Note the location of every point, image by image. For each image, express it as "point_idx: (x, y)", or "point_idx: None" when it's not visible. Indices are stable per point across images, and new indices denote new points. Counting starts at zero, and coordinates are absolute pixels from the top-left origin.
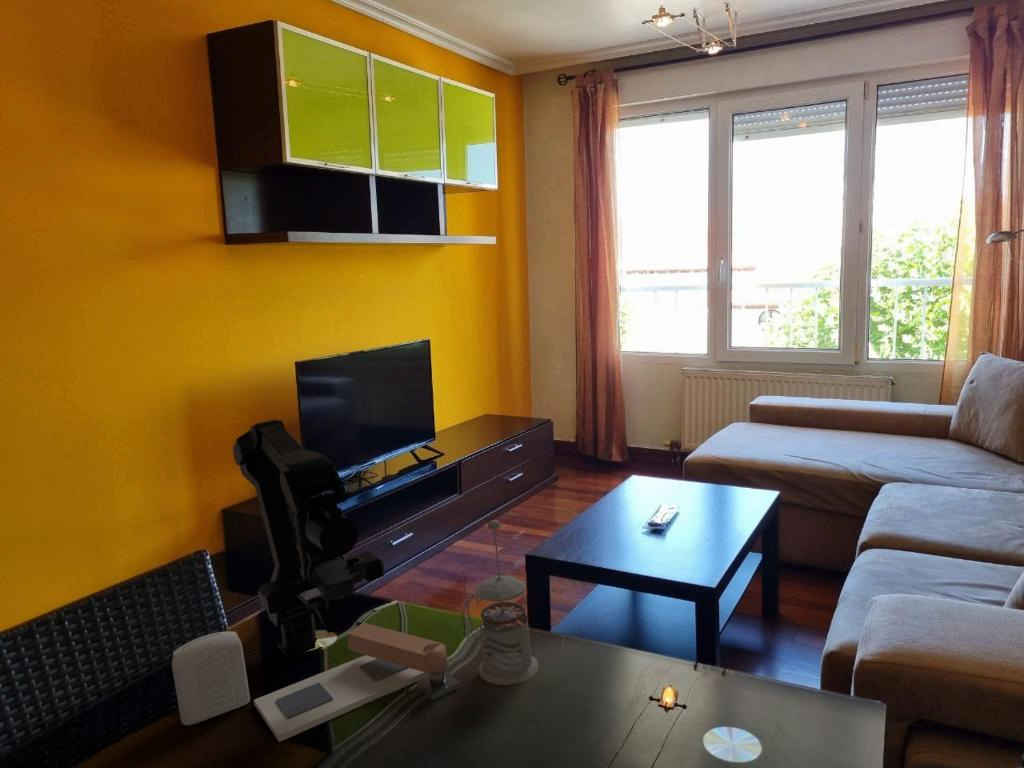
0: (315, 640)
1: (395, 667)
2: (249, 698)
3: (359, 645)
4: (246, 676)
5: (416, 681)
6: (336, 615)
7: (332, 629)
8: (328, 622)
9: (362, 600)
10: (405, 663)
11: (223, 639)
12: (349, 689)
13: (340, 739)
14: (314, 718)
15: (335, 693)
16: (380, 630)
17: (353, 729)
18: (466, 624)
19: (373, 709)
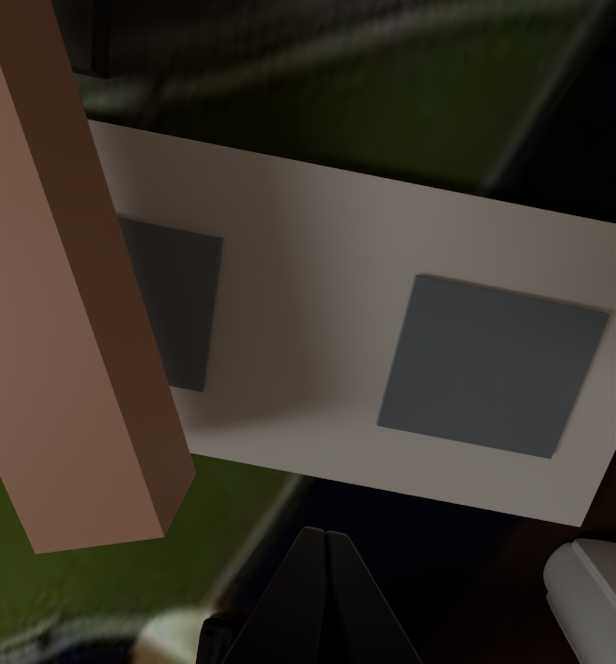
0: (216, 660)
1: None
2: (560, 554)
3: (159, 427)
4: (610, 636)
5: (90, 68)
6: (248, 641)
7: (313, 540)
8: (354, 614)
9: None
10: (63, 77)
11: None
12: (325, 285)
13: (550, 26)
14: (549, 220)
15: (379, 308)
16: (2, 406)
17: (471, 43)
18: None
19: (327, 103)
